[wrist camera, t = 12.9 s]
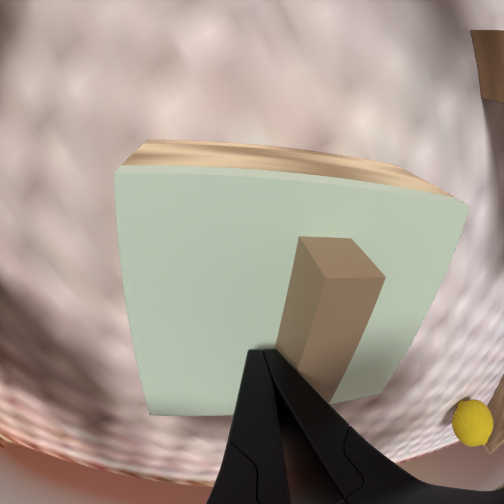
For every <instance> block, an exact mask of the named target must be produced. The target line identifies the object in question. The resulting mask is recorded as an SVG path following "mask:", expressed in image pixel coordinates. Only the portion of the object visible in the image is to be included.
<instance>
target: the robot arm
mask: <svg viewBox="0 0 504 504" xmlns="http://www.w3.org/2000/svg"><path fill="white" fill-rule="evenodd" d="M206 504H504V484H502V485H501V486H499V487H498V488H496V489H495V490H493V491H476V490H467V489H458V488H451V487H444V486H438V485H433V484H429V483H426V482H423V481H421V480H418V479H417V478H415V477H414V476H412V475H411V474H409V473H408V472H406V471H405V470H404V469H402V468H401V467H399V466H398V465H397V464H395V463H394V462H393V461H391V460H390V459H388V458H387V457H386V456H384V455H383V454H382V453H381V452H379V451H378V450H377V449H376V448H374V447H373V446H372V445H371V444H369V443H368V442H367V441H366V440H365V439H364V438H363V437H362V436H361V435H360V434H359V433H358V432H356V431H355V430H354V429H353V428H352V427H351V426H349V424H348V423H347V422H346V421H345V420H344V419H343V418H342V417H341V416H340V415H339V414H338V413H337V412H336V411H335V410H334V409H333V408H332V407H331V406H330V405H329V404H328V403H327V402H326V401H325V400H324V399H323V398H322V397H321V396H320V394H319V393H318V392H317V391H316V390H315V389H314V388H313V387H312V386H311V385H310V384H309V383H308V382H307V381H306V380H305V379H304V378H303V377H302V376H301V375H300V374H299V373H298V372H297V371H296V370H295V368H294V367H293V366H292V365H291V364H290V363H289V362H288V361H287V360H286V359H285V358H284V357H283V356H282V355H281V354H280V352H279V351H278V350H277V349H275V348H265V349H262V350H261V349H249V350H248V351H247V356H246V360H245V365H244V369H243V374H242V378H241V383H240V388H239V392H238V397H237V401H236V406H235V410H234V414H233V419H232V423H231V428H230V432H229V437H228V441H227V445H226V449H225V453H224V457H223V461H222V464H221V468H220V471H219V474H218V476H217V479H216V481H215V484H214V487H213V489H212V491H211V494H210V496H209V498H208V500H207V503H206Z"/></svg>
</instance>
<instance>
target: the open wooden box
mask: <svg viewBox="0 0 504 504" xmlns="http://www.w3.org/2000/svg"><path fill="white" fill-rule="evenodd" d="M122 165H167V166H202V167H223V168H240V169H255V170H268V171H280V172H290V173H301V174H310V175H319V176H328V177H336V178H343V179H351V180H358V181H365V182H372V183H379V184H385V185H391V186H397V187H403V188H409V189H414V190H420V191H425V192H430V193H436V194H441V195H445V196H450V197H454V196H452V195H450V194H449V193H447V192H445V191H443V190H442V189H440V188H438V187H436V186H434V185H433V184H431V183H429V182H427V181H425V180H423V179H421V178H419V177H418V176H416V175H414V174H412V173H410V172H408V171H406V170H404V169H402V168H400V167H398V166H396V165H391V164H386V163H381V162H376V161H371V160H365V159H360V158H354V157H348V156H342V155H335V154H329V153H322V152H315V151H307V150H299V149H291V148H282V147H273V146H262V145H251V144H239V143H224V142H205V141H176V140H147V141H146V142H145V143H144V144H143V145H142V146H140V147H139V148H138V149H137V150H136V151H135V152H134V153H133V154H132V155H131V156H130V157H129V158H128V159H127V160H126V161H125V162H124V163H123V164H122Z"/></svg>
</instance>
